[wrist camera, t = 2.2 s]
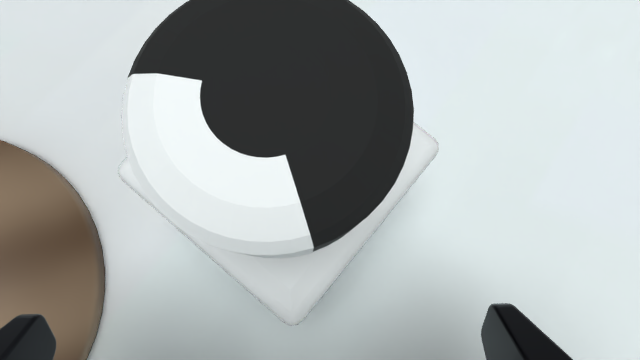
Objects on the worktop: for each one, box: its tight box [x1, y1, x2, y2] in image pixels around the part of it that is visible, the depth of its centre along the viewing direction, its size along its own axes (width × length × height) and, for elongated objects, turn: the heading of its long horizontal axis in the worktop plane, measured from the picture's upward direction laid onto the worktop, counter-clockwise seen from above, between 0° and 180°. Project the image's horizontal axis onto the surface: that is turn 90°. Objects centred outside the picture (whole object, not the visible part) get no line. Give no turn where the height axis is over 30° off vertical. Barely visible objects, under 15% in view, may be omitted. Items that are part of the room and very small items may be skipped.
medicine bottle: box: [118, 0, 439, 326], centre depth 14 cm, size 7×7×12 cm
